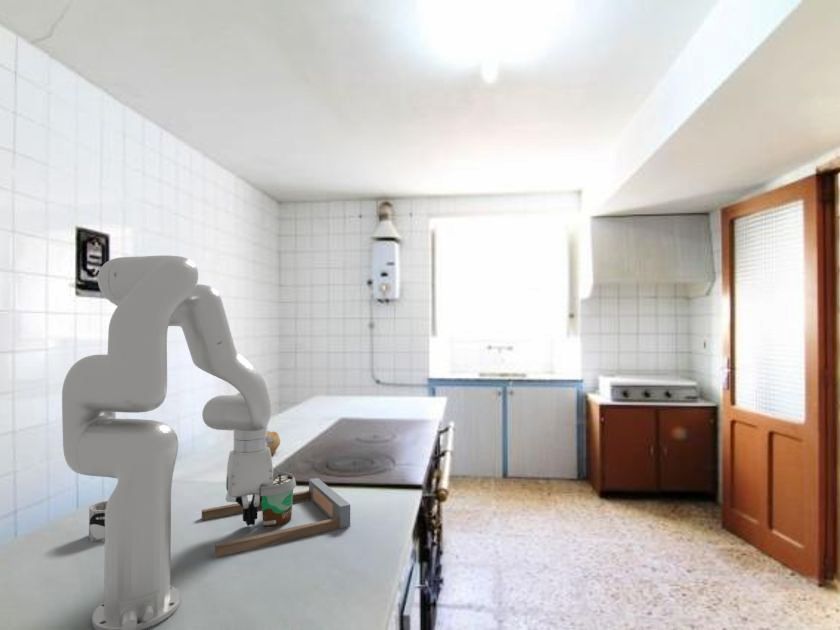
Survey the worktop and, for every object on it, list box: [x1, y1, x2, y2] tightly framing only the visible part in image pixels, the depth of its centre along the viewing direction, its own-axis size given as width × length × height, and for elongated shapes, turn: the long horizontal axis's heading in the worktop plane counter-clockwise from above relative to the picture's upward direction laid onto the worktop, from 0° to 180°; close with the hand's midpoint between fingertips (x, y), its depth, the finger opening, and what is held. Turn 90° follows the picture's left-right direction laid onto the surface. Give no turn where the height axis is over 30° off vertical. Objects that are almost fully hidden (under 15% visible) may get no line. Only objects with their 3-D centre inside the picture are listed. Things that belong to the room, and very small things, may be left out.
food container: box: [261, 471, 297, 529], centre depth 118 cm, size 12×6×10 cm, turn 177°
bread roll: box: [267, 430, 281, 456], centre depth 178 cm, size 10×15×8 cm, turn 8°
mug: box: [88, 500, 108, 542], centre depth 110 cm, size 10×7×7 cm
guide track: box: [201, 489, 341, 558], centre depth 116 cm, size 23×27×2 cm
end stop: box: [308, 477, 351, 529], centre depth 124 cm, size 23×3×5 cm, turn 31°
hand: (250, 523), depth 114 cm, fingers closed
